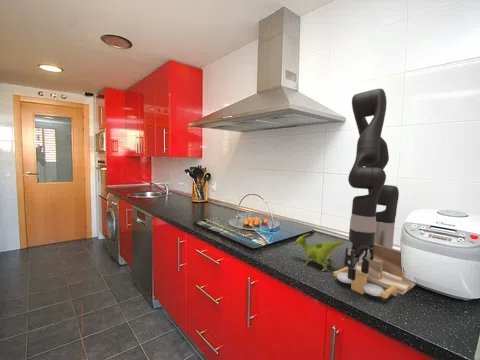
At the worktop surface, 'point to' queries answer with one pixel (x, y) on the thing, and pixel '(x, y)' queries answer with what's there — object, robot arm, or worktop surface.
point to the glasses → (364, 284)
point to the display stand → (387, 269)
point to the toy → (318, 251)
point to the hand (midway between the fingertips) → (358, 276)
